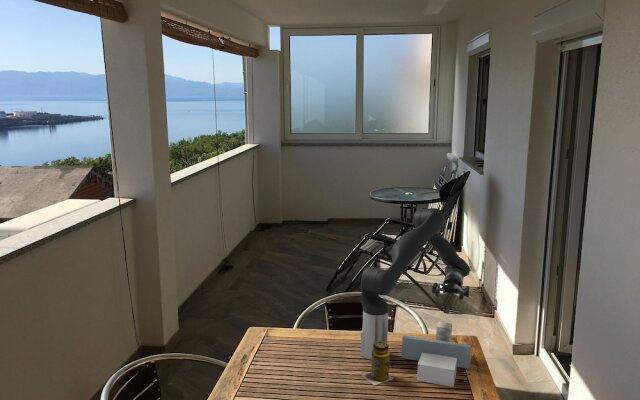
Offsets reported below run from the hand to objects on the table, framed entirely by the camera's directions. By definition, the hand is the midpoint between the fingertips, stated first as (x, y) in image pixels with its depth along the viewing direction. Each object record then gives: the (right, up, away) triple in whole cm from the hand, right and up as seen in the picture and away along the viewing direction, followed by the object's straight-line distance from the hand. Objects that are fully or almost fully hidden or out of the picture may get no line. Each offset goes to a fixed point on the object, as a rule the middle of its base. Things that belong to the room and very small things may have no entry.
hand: (448, 296), depth 207 cm
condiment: (-30, -24, -23) cm, 44 cm away
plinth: (-9, -24, -23) cm, 34 cm away
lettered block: (-4, -21, -7) cm, 22 cm away
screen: (-8, -22, -12) cm, 26 cm away
